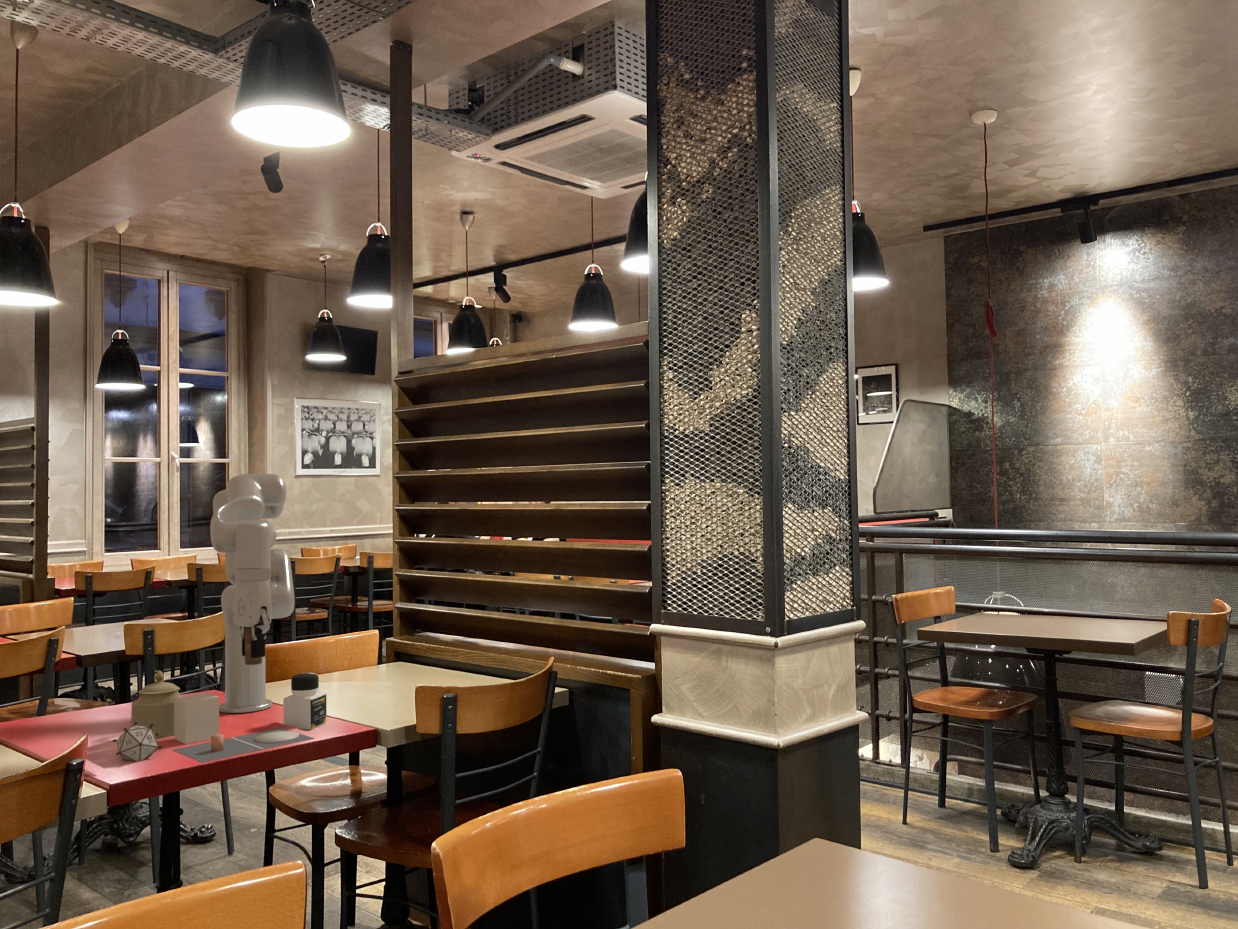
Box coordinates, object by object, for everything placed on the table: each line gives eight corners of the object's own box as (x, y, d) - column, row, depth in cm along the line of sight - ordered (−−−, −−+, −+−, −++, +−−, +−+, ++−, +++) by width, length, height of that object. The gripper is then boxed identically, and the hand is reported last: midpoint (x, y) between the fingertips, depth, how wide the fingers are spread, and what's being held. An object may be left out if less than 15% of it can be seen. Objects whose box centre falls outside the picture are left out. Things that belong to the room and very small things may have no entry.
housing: (174, 744, 205) (185, 749, 201) (174, 697, 206) (185, 702, 201) (207, 738, 210) (219, 743, 205) (207, 692, 211) (219, 696, 206)
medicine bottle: (311, 730, 216) (311, 677, 216) (282, 729, 217) (282, 676, 218) (327, 723, 223) (326, 671, 223) (299, 722, 224) (299, 671, 225)
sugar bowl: (111, 739, 211) (111, 671, 212) (157, 728, 221) (157, 663, 221) (150, 747, 203) (150, 676, 204) (196, 735, 213) (196, 668, 213)
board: (171, 755, 196) (171, 735, 196) (281, 733, 213) (280, 714, 214) (202, 768, 186) (202, 747, 186) (315, 744, 203) (314, 724, 203)
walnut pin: (242, 663, 216) (242, 624, 217) (257, 661, 219) (257, 622, 219) (249, 665, 214) (249, 625, 214) (264, 663, 217) (264, 623, 217)
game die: (131, 781, 191) (127, 735, 196) (172, 764, 192) (167, 719, 197) (105, 770, 183) (102, 723, 189) (148, 753, 184) (143, 706, 190)
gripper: (220, 575, 220) (221, 654, 219) (254, 578, 209) (254, 662, 208) (252, 573, 226) (252, 650, 225) (286, 576, 214) (286, 657, 214)
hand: (253, 655), depth 217 cm, fingers closed on walnut pin, 3 cm apart
